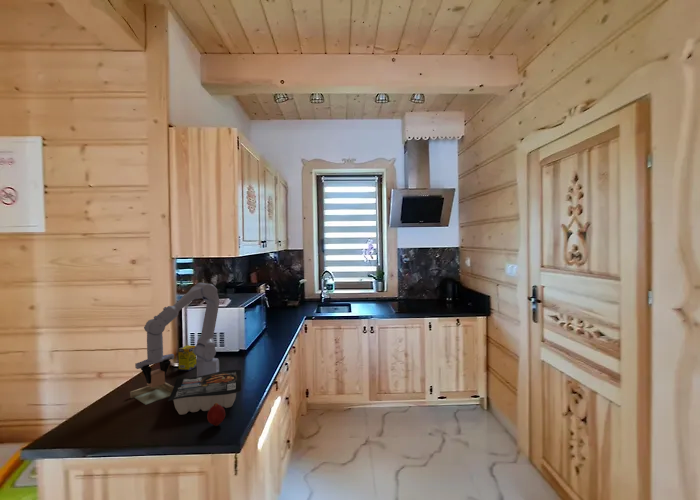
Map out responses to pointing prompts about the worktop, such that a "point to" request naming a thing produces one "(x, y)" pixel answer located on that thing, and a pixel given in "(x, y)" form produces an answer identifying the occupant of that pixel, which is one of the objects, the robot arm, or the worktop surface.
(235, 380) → the food packaging
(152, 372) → the terracotta cube
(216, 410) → the onion
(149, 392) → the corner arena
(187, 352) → the supplement box
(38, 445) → the worktop surface
